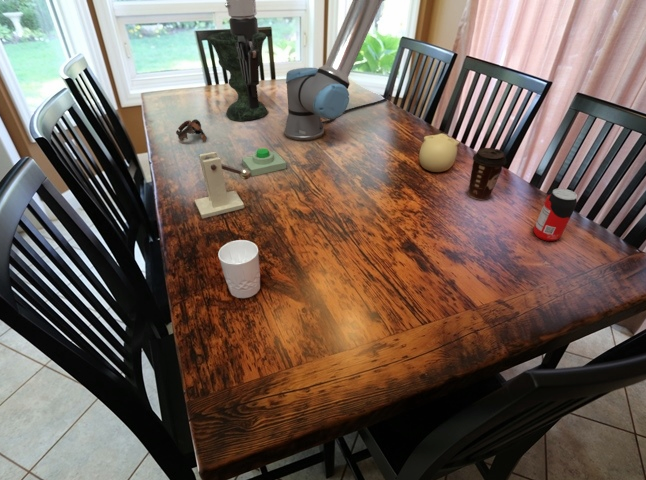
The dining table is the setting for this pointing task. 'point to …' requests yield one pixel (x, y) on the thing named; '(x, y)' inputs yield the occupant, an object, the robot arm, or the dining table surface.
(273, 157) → the button block
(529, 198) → the dining table surface
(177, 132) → the dark curved strip cluster
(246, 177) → the switch lever
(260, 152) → the light button
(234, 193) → the switch bracket
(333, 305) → the dining table surface
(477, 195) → the coffee cup
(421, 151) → the sculpture
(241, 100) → the goblet
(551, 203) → the beverage can
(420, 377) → the dining table surface
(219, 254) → the white cup
